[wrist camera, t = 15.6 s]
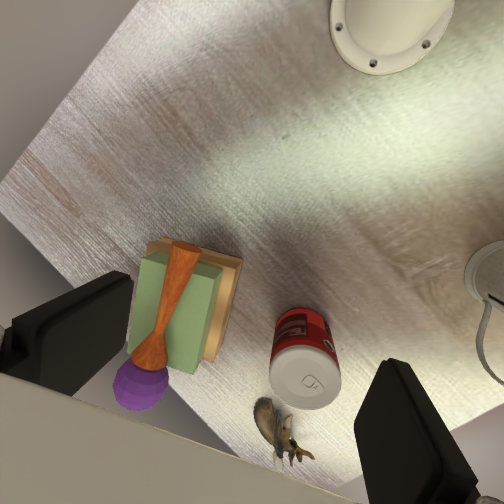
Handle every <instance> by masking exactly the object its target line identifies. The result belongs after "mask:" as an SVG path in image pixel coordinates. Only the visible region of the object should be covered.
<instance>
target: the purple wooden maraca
mask: <svg viewBox="0 0 504 504" xmlns="http://www.w3.org/2000/svg"><path fill="white" fill-rule="evenodd" d="M201 254H202V250H201V249H200V248H198V247H196V246H194V245H192V244H189V243H186V242H182V241H172V243H171V248H170V253H169V258H168V263H167V268H166V273H165V278H164V283H163V288H162V293H161V298H160V303H159V308H158V313H157V318H156V323H155V328H154V330H153V331H152V332H151V333H150V334H149V335H148V336H147V337H146V338H145V339H144V340H143V341H142V342H141V343H140V344H139V345H138V346H137V347H136V348H135V349H134V350H133V351H132V352H131V356H130V357H131V358H129V359H128V360H127V361H126V362H125V363H124V364H123V365H122V366H121V367H120V368H119V369H118V371H117V374H116V377H115V380H114V383H113V389H114V394H115V397H116V400H117V402H118V403H119V404H120V405H121V406H123V407H125V408H127V409H129V410H133V411H141V410H146V409H149V408H151V407H152V406H154V405H155V404H156V403H157V402H158V401H160V400H161V398H162V397H163V395H164V394H165V392H166V389H167V387H168V381H169V376H168V369H167V367H166V365H167V364H168V354H167V348H166V342H165V337H164V331H165V329H166V327H167V324H168V322H169V320H170V318H171V316H172V314H173V312H174V310H175V308H176V306H177V304H178V302H179V300H180V298H181V296H182V293H183V291H184V289H185V287H186V285H187V283H188V281H189V279H190V277H191V275H192V273H193V271H194V269H195V267H196V264H197V262H198V260H199V258H200V256H201Z"/></svg>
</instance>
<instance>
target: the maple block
mask: <svg viewBox="0 0 504 504" xmlns="http://www.w3.org/2000/svg"><path fill="white" fill-rule="evenodd" d="M172 241H176V240H173V239H169V238H166V237H164V238H162V239H159V240H156V241H154V242H151V243H148V245H147V251H146V256H147V255H149V254H151V253H153V252H156V251H161V252H164V253H168V254H169V253H170V248H171V243H172ZM196 247H197V246H196ZM198 248H200V249H201V250H202V254H201V256H200V258H199V260H198V262H199V263H202V264H206V265H209V266H212V267H216V268H219V269H223V275H222V279H221V283H220V287H219V292H218V296H217V300H216V305H215V309H214V313H213V317H212V322H211V326H210V330H209V335H208V339H207V343H206V347H205V352H204V356H203V358H202V359H203V360H206V361H210V362H214V360H215V357H216V355H217V353H218V351H219V349H220V347H221V345H222V342H223V338H224V334H225V330H226V326H227V322H228V318H229V314H230V310H231V306H232V302H233V298H234V294H235V290H236V286H237V282H238V278H239V274H240V270H241V266H242V262H243V259H239V258H236V257H232V256H229V255H225V254H222V253H218V252H215V251H211V250H208V249H204V248H201V247H198Z"/></svg>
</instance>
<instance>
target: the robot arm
mask: <svg viewBox="0 0 504 504" xmlns="http://www.w3.org/2000/svg"><path fill="white" fill-rule="evenodd" d="M454 4H455V0H332V3H331V9H330V32H331V36H332V39H333V43H334V45H335V47H336V49H337V51H338V53H339V54H340V55H341V57H342V58H343V59H344V61H346V62H347V63H348V64H349V65H350V66H352V67H353V68H355V69H357V70H359V71H361V72H364V73H367V74H371V75H387V74H394V73H396V72H399V71H402V70H405V69H407V68H408V67H410V66H412V65H414V64H416V63H417V62H418V61H419V60H421V59H422V58H423V57H424V56H426V55H427V54H428V53H429V52H430V50H431V49H432V48H433V47H434V46H435V45H436V43H437V42H438V41H439V40H440V38H441V37H442V35H443V33H444V32H445V30H446V28H447V26H448V24H449V21H450V19H451V16H452V13H453V9H454ZM337 29H340V31H336V30H337ZM422 46H424V47H425V49H424V48H423V47H422ZM370 64H372V65H373V68H372V67H370ZM133 286H134V281H133V280H131V277H130V275H128V274H125V273H122V272H119V271H115V270H114V271H111V272H109V273H107V274H105V275H103V276H101V277H99V278H97V279H94V280H92V281H90V282H88V283H86V284H84V285H82V286H80V287H78V288H76V289H74V290H72V291H69V292H67V293H65V294H63V295H61V296H59V297H57V298H55V299H53V300H51V301H49V302H47V303H44V304H42V305H40V306H38V307H36V308H34V309H32V310H30V311H28V312H26V313H24V314H22V315H19V316H17V317H15V318H13V319H12V326H11V327H9V328H7V329H4V328H3V327H2V326H1V325H0V504H361V503H359V502H356V501H353V500H351V499H348V498H345V497H342V496H339V495H337V494H335V493H332V492H329V491H327V490H324V489H321V488H319V487H316V486H313V485H311V484H308V483H305V482H302V481H300V480H297V479H294V478H292V477H289V476H286V475H284V474H281V473H278V472H276V471H273V470H270V469H268V468H265V467H262V466H260V465H257V464H254V463H252V462H249V461H246V460H243V459H241V458H238V457H235V456H233V455H230V454H227V453H224V452H222V451H219V450H216V449H213V448H211V447H208V446H205V445H203V444H200V443H197V442H195V441H192V440H189V439H186V438H184V437H181V436H178V435H175V434H172V433H170V432H167V431H164V430H162V429H159V428H156V427H154V426H151V425H148V424H145V423H142V422H139V421H137V420H134V419H131V418H129V417H126V416H123V415H120V414H117V413H115V412H112V411H109V410H106V409H104V408H100V407H98V406H95V405H92V404H90V403H87V402H84V401H81V400H78V399H76V398H73V397H72V396H73V395H74V394H75V393H76V392H77V391H78V390H79V389H80V388H81V387H82V386H83V385H84V384H85V383H86V382H88V381H89V379H91V378H92V377H93V376H94V375H95V374H96V373H97V372H98V371H99V370H100V369H101V368H102V367H103V366H105V365H106V364H107V363H108V362H109V361H110V360H111V359H112V358H113V357H114V356H115V355H116V354H117V353H118V352H119V351H120V350H121V349H122V348H123V346H124V343H125V340H126V333H127V327H128V320H129V313H130V307H131V300H132V293H133ZM354 434H355V438H356V443H357V448H358V452H359V457H360V462H361V466H362V471H363V476H364V480H365V485H366V490H367V494H368V499H369V504H504V502H502V501H500V500H498V499H496V498H493V497H489V496H481V495H480V493H479V492H478V490H477V488H476V484H477V483H478V479H477V478H476V476H475V474H474V472H473V471H472V469H471V467H470V466H469V464H468V462H467V461H466V459H465V457H464V456H463V454H462V452H461V450H460V449H459V447H458V445H457V444H456V442H455V440H454V439H453V437H452V435H451V434H450V432H449V430H448V429H447V427H446V425H445V423H444V422H443V420H442V418H441V417H440V415H439V413H438V412H437V410H436V408H435V407H434V405H433V403H432V402H431V400H430V398H429V397H428V395H427V393H426V391H425V390H424V388H423V386H422V385H421V383H420V381H419V380H418V378H417V376H416V375H415V373H414V371H413V370H412V368H411V366H410V365H409V364H408V363H406V362H403V361H399V360H396V359H393V358H389V359H388V360H387V361H386V360H383V361H382V362H381V364H380V366H379V368H378V370H377V372H376V375H375V377H374V379H373V381H372V383H371V386H370V388H369V390H368V392H367V394H366V397H365V399H364V401H363V403H362V405H361V408H360V410H359V412H358V414H357V416H356V419H355V422H354Z"/></svg>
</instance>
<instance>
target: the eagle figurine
mask: <svg viewBox="0 0 504 504" xmlns="http://www.w3.org/2000/svg"><path fill="white" fill-rule="evenodd" d="M253 412H254V413H253V414H254V419H255V422H256V425H257V427H258V428H259V431H260V433H261V434H262V436H263V437H264V438H265V439H266V440H267V442H269V443H270V444H271V445H273V447H274V448H275V451H274V452H273V460H274V465H275V468H276V470H277V471H278V472H282V470H283V459H282V458H283V453H284V451H286V452H289V454H288V456H290V457H289V461H290V466H291V467H293V465H292V461H293V458H294V456H295V454H296V457H297V459H298V461H299V462H302V455H305V456H308V457H310V458H311V459H312V460H314V459H315V458H314V456H313V455H312V454H311V453H310V452H308V451H305V450H303V449H301V448H300V447H299V446H298V445H297V443H296V441H295V440H294V439H293V438H291V439H289V438H290V430H291V419H292V417H293V416H292V415H291V416H290V417H288V418H287V419H286V421H285V424H284V426H283V428H282V424H281V420H280V414H279V410H276V412H275V419H274V416H273V410H272V403H271V400H268V399H267V398H265V399H264V398H261V399H258V402H256V407H254V411H253Z"/></svg>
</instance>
